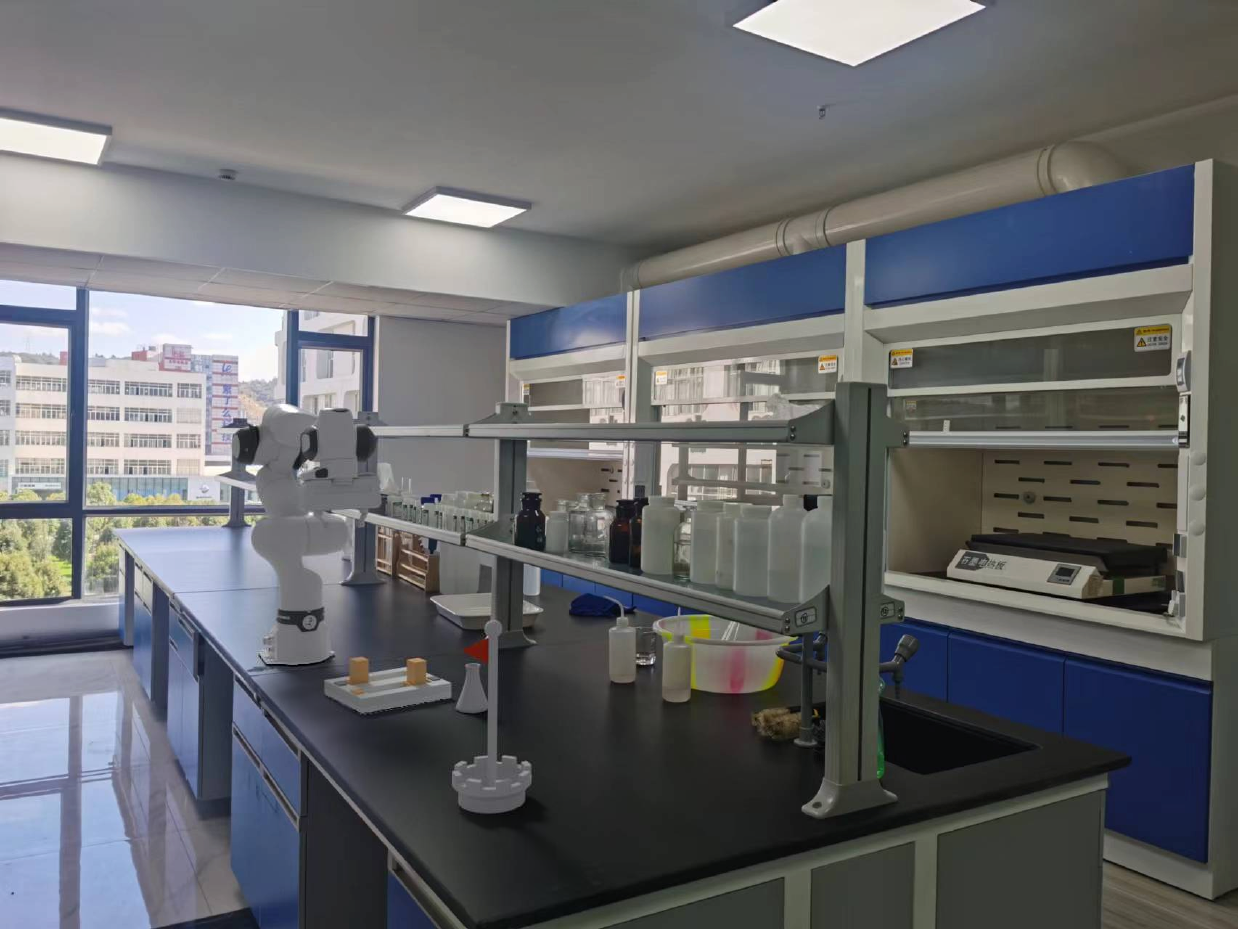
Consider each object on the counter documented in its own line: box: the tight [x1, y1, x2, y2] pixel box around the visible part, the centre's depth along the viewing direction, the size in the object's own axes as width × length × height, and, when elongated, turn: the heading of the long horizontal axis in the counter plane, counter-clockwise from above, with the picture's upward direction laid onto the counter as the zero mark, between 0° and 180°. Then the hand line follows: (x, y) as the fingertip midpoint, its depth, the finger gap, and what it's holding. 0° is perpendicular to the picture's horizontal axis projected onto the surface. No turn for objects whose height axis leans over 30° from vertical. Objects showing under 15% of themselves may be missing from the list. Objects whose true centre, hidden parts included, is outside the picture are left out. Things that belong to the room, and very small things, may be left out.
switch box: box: [323, 666, 452, 713], centre depth 215 cm, size 20×22×4 cm
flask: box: [454, 662, 488, 714], centre depth 205 cm, size 7×7×10 cm
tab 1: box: [347, 656, 370, 685], centre depth 215 cm, size 4×4×7 cm
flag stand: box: [451, 619, 532, 814], centre depth 153 cm, size 13×13×30 cm
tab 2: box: [405, 657, 427, 687], centre depth 214 cm, size 4×4×7 cm
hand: (342, 528), depth 226 cm, fingers open, 8 cm apart
